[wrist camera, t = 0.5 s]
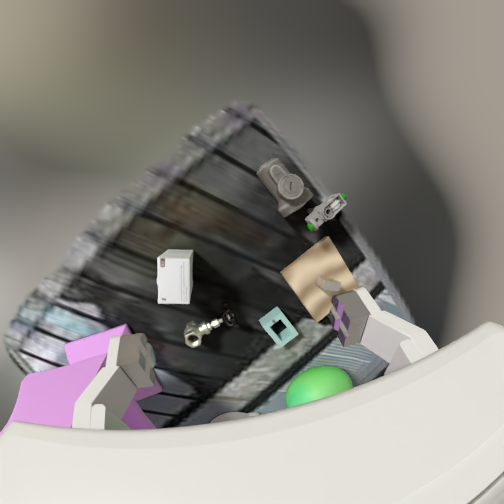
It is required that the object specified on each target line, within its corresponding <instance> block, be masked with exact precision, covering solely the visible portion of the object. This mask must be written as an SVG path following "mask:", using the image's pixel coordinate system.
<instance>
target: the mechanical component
mask: <svg viewBox="0 0 504 504" xmlns="http://www.w3.org/2000/svg"><path fill="white" fill-rule="evenodd" d="M345 200H346V196H345V195H344V194H342V193H341V194H340V193H338V194H334V195H331V196H329V197H328V198H327V199H326V200H325V201H324V202H323V203H321V204H320V205H319V206H316V207H315V208H309V209H308V210H307V212H308V213H309V215H308V216H307V217H306V219H305V221H306V222H307V223H308V225H307V227H308V229H309V230H310V231H313V230H315V231H316V230H318V229H319V226H320V225H321V224H322V223H323V222H324V221H327V220H328V219H332V218H334V216H335V215H336V214H337V213H338V212H339V211H340V210H341V209H342V208H343V207H344V206H345V205H346V204H347V203H346V201H345ZM339 207H340V208H339ZM338 208H339V209H338ZM337 209H338V210H337ZM335 210H336V211H335ZM333 211H335V212H333Z"/></svg>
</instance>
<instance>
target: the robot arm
mask: <svg viewBox="0 0 504 504" xmlns="http://www.w3.org/2000/svg"><path fill="white" fill-rule="evenodd" d="M331 303H332V304H333V306H332V307H331V308H330V313H329V315H330V321H331V324H332V326H333V328H334V329H335V330H337V331H339V332H338V338H339V340H340V341H341V343H342V345H343V347H346V346H349V345H353V344H356V343H359V342H360V343H361V344H362V345H364V346H365V347H367V348H368V349H369V350H371V351H372V352H374V353H375V354H377V355H378V356H380V357H381V358H383V359H384V360H385V361H387V362H388V363H390V364H389V366H388V367H387V370H386V371H385V373H384V375H385V376H382V377H380V378H377V379H375V380H372V381H370V382H367V383H365V384H362V385H359V386H357V387H354V388H351V389H348V390H346V391H343V392H340V393H337V394H334V395H331V396H328V397H324V398H321V399H318V400H315V401H311V402H308V403H304V404H301V405H297V406H293V407H290V408H286V409H282V410H278V411H273V412H269V413H265V414H260V413H258V412H252V413H242V412H229V413H225V414H222V415H219V416H217V417H216V418H214V419H213V420H212V421H211V422H210V423H209V424H202V425H194V426H184V427H174V428H160V429H140V430H131V428H130V427H129V426H128V425H127V424H125V423H124V422H123V421H122V420H121V418H122V417H123V415H124V413H125V411H126V409H127V408H128V406H129V404H130V402H131V400H132V398H133V397H134V395H135V393H136V391H137V390H138V389H137V388H143V387H152V386H155V372H154V371H153V369H152V368H153V367H154V366H155V355H154V351H153V348H152V346H151V345H150V344H149V343H147V337H146V336H145V334H144V333H140V334H130V335H122V336H112V337H111V338H110V341H109V347H108V353H107V360H106V367H103V368H102V369H101V370H100V371H99V373H98V374H97V375H96V376H95V378H94V379H93V380H92V381H91V383H90V384H89V385H88V387H87V388H86V389H85V390H84V392H83V393H82V394H81V396H80V397H79V398H78V400H77V401H76V402H75V405H74V413H73V421H72V428H69V427H59V426H50V425H42V424H36V423H29V422H24V421H17V420H15V421H12V422H11V423H10V424H9V425H8V426H7V427H6V429H5V430H4V431H3V433H2V434H1V435H0V504H504V327H503V326H501V325H499V324H496V323H493V322H485V323H484V324H482V325H480V326H479V327H477V328H476V329H474V330H472V331H471V332H469V333H467V334H466V335H464V336H462V337H461V338H459V339H458V340H456V341H454V342H452V343H450V344H449V345H447V346H445V347H443V348H441V349H438V348H437V347H436V345H435V344H434V342H433V341H432V340H431V338H430V337H429V335H428V334H427V332H426V331H425V330H423V329H421V328H419V327H417V326H415V325H413V324H411V323H409V322H407V321H405V320H403V319H401V318H399V317H397V316H395V315H392V314H390V313H388V312H386V311H381V310H380V308H379V307H378V305H377V304H376V303H375V301H374V300H373V298H372V297H371V296H370V294H369V293H368V291H367V290H366V289H365V288H364V287H362V288H359V289H355V290H351V291H347V292H344V293H340V294H336V295H333V296H332V299H331Z"/></svg>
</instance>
